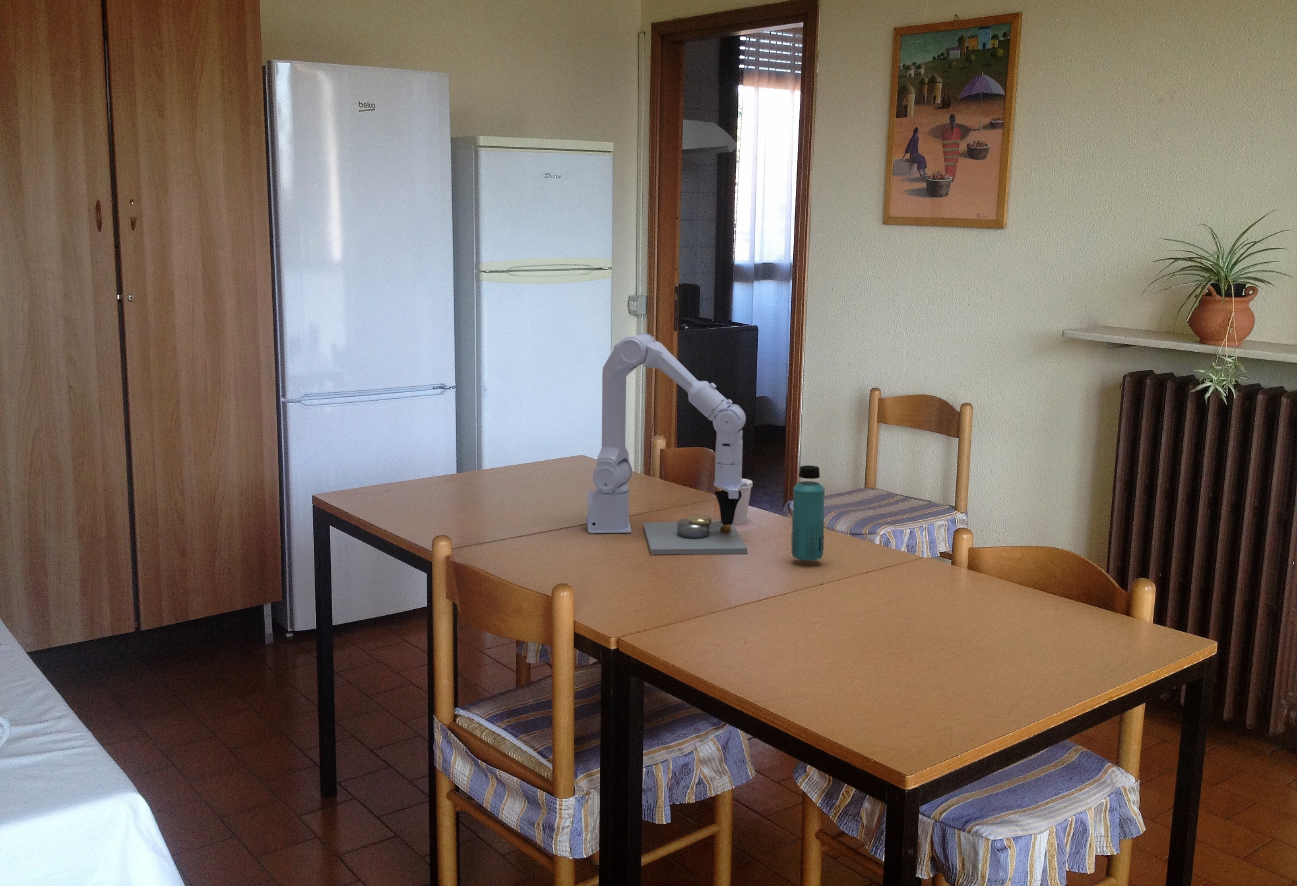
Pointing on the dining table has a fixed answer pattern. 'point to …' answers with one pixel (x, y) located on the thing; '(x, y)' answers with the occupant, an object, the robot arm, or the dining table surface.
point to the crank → (699, 526)
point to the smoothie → (743, 503)
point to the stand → (691, 540)
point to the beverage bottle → (808, 516)
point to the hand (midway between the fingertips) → (727, 523)
